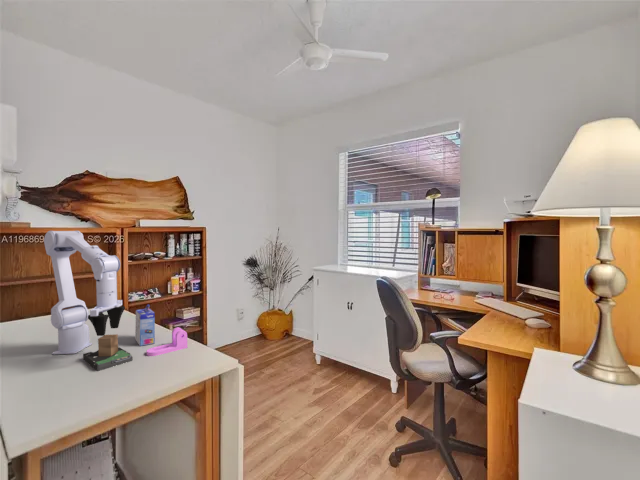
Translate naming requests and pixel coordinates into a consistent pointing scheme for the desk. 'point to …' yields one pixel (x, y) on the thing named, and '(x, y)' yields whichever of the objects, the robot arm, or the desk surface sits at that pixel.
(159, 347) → the bracket
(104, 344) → the walnut block
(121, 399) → the desk surface
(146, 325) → the ink cartridge box
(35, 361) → the desk surface
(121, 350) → the disk drive
